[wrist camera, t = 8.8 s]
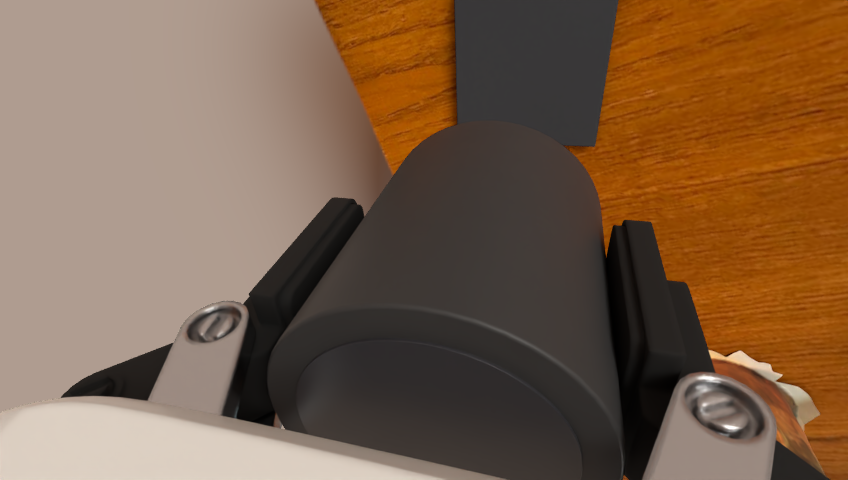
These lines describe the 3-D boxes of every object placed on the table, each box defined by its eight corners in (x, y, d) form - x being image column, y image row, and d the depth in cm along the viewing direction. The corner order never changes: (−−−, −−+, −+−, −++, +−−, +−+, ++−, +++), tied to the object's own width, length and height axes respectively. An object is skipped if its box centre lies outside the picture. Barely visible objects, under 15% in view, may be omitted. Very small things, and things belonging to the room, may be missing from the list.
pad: (456, -7, 24) (453, -6, 23) (619, -14, 22) (620, -13, 21) (459, 137, 28) (457, 141, 28) (594, 142, 26) (594, 146, 26)
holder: (379, 116, 12) (216, 283, 6) (619, 123, 11) (674, 347, 5) (400, 287, 15) (305, 493, 10) (584, 310, 14) (593, 568, 8)
